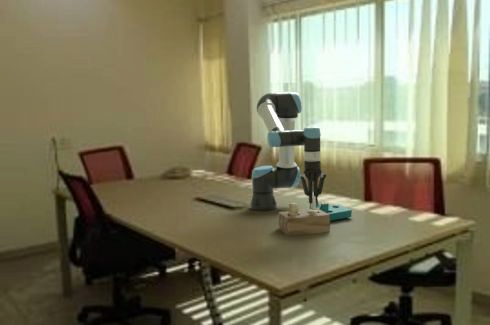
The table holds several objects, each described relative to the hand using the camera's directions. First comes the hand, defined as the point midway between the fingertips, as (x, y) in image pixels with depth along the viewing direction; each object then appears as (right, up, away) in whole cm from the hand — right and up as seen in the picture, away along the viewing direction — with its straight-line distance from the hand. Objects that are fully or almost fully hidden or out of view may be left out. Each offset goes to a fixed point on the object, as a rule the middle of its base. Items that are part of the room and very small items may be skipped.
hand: (313, 209), depth 249 cm
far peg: (0, -9, +1) cm, 9 cm away
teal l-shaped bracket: (+11, -7, +19) cm, 23 cm away
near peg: (-9, -5, -2) cm, 11 cm away
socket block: (-4, -10, 0) cm, 11 cm away
